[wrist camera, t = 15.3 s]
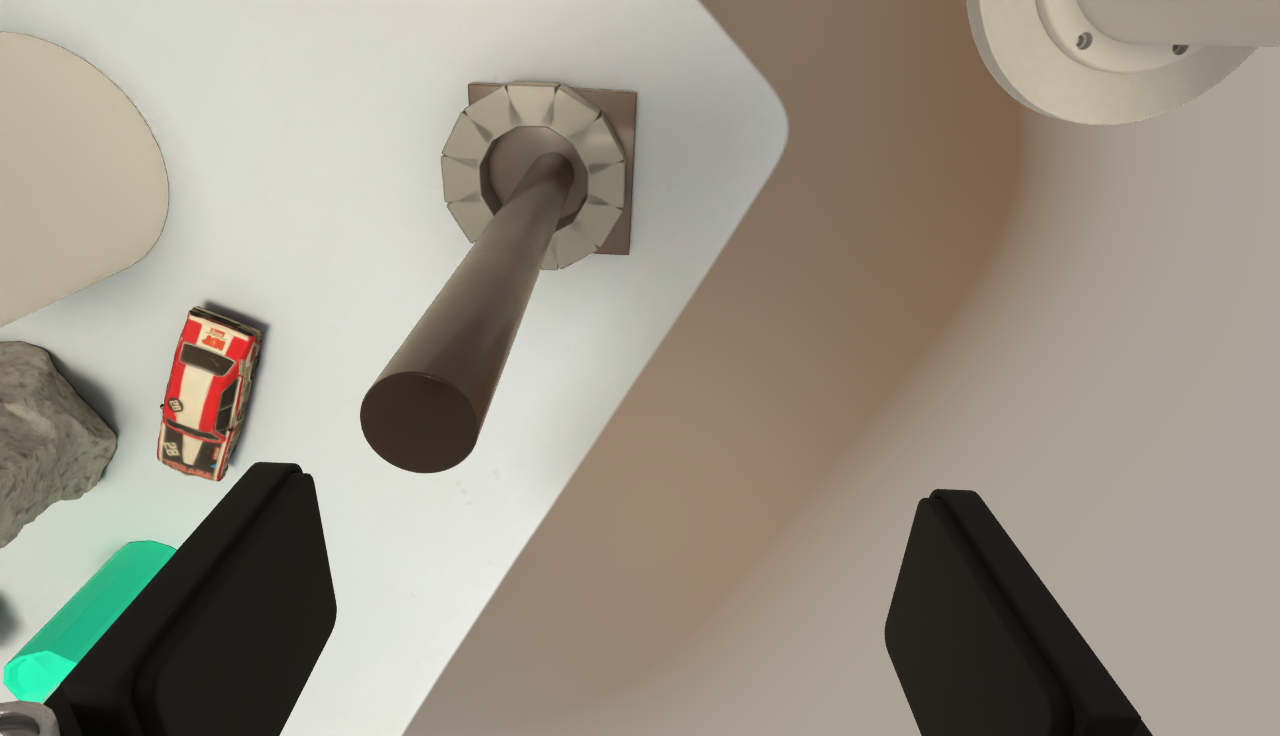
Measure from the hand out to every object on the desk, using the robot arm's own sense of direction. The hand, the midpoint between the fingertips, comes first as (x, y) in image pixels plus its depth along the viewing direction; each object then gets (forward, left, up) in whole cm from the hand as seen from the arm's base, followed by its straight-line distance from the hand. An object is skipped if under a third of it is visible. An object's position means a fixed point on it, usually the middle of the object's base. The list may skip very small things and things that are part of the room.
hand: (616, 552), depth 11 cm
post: (+4, 0, -33) cm, 33 cm away
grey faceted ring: (+5, 0, -32) cm, 32 cm away
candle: (+34, +31, -33) cm, 57 cm away
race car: (+26, +15, -33) cm, 45 cm away
